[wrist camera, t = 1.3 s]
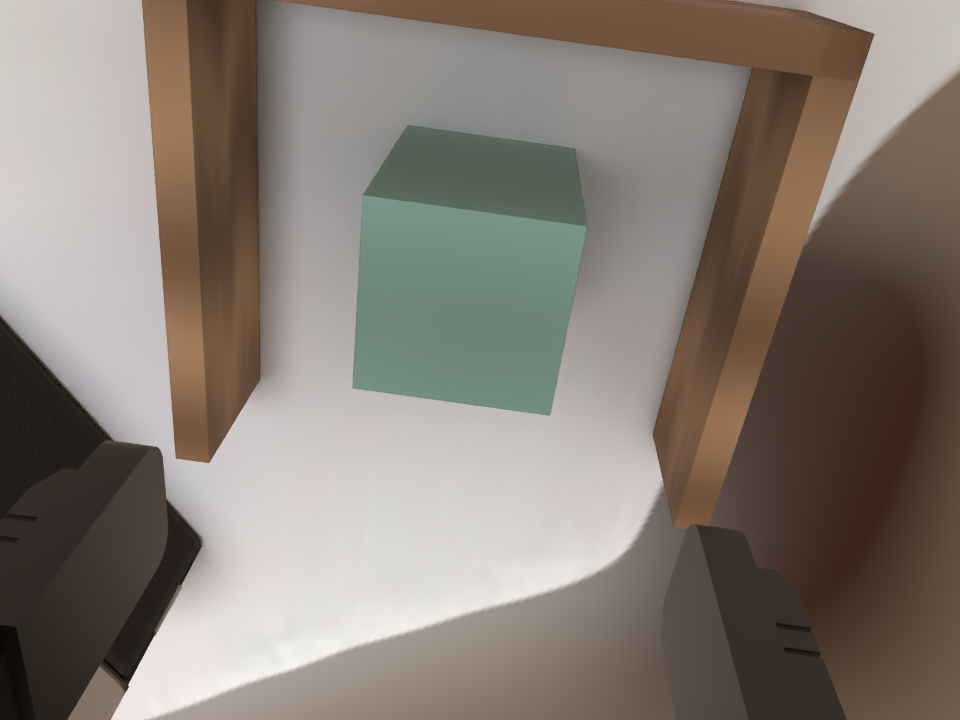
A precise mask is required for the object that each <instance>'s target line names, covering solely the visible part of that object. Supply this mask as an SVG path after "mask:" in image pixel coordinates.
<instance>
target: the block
mask: <svg viewBox="0 0 960 720" xmlns="http://www.w3.org/2000/svg"><path fill="white" fill-rule="evenodd" d="M586 230H587V222H586V216H585V210H584V203H583V197H582V191H581V185H580V179H579V172H578V166H577V160H576V154H575V149H573V148H566V147H559V146H552V145H545V144H538V143H530V142H523V141H516V140H509V139H502V138H495V137H488V136H480V135H473V134H466V133H459V132H452V131H445V130H438V129H430V128H423V127H416V126H409V125H408V126H407V127H406V129H405V130H404V132H403V134H402V135H401V137H400V138H399V140H398V141H397V143H396V145H395V146H394V148H393V149H392V151H391V152H390V154H389V155H388V157H387V159H386V160H385V162H384V163H383V165H382V166H381V168H380V170H379V171H378V173H377V174H376V176H375V177H374V179H373V180H372V182H371V184H370V185H369V187H368V188H367V190H366V191H365V193H364V194H363V204H362V222H361V241H360V259H359V278H358V296H357V315H356V333H355V352H354V370H353V388H355V389H362V390H369V391H376V392H384V393H391V394H398V395H405V396H413V397H420V398H427V399H434V400H441V401H449V402H456V403H463V404H470V405H477V406H485V407H492V408H499V409H506V410H513V411H521V412H528V413H535V414H542V415H550V414H551V408H552V403H553V398H554V393H555V388H556V383H557V378H558V373H559V368H560V363H561V358H562V353H563V347H564V342H565V337H566V332H567V327H568V322H569V317H570V312H571V307H572V302H573V297H574V291H575V286H576V281H577V276H578V271H579V266H580V261H581V256H582V251H583V246H584V241H585V236H586Z"/></svg>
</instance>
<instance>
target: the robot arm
mask: <svg viewBox="0 0 960 720" xmlns="http://www.w3.org/2000/svg"><path fill="white" fill-rule="evenodd" d="M167 536H168V517H167V505H166V492H165V479H164V467H163V457H162V453H161V451H160V449H159V448H157V447H153V446H146V445H139V444H132V443H125V442H118V441H110V440H107V441H104V442H102V443H101V444H100V445H99V446H98V447H97V448H96V450H95V451H94V452H93V453H92V454H91V455H90V457H89V458H88V459H87V460H86V461H85V463H84V464H83V465H82V466H81V467H80V468H79V470H78V471H77V470H70V469H61V470H59V471H58V472H56V473H54V474H53V475H51V476H49V477H47V478H46V479H44V480H42V481H41V482H39V483H37V484H35V485H34V486H32V487H30V488H29V489H28V490H27V491H26V492H25V493H24V494H23V496H22V497H21V498H20V499H19V500H18V501H17V502H16V503H15V504H14V505H13V507H12V508H11V509H10V510H9V511H8V512H7V515H6V518H2V519H1V520H0V720H68V718H69V716H70V715H71V713H72V711H73V710H74V708H75V706H76V705H77V703H78V701H79V700H80V698H81V696H82V695H83V693H84V691H85V690H86V688H87V686H88V685H89V683H90V681H91V679H92V678H93V676H94V674H95V673H96V671H97V669H98V668H99V666H100V664H101V663H102V661H103V659H104V658H105V656H106V654H107V653H108V651H109V649H110V648H111V646H112V644H113V643H114V641H115V639H116V637H117V636H118V634H119V632H120V631H121V629H122V627H123V626H124V624H125V622H126V621H127V619H128V617H129V616H130V614H131V612H132V611H133V609H134V607H135V606H136V604H137V602H138V601H139V599H140V597H141V595H142V594H143V592H144V590H145V589H146V587H147V585H148V584H149V582H150V580H151V579H152V577H153V575H154V574H155V572H156V570H157V568H158V567H159V565H160V562H161V560H162V557H163V554H164V551H165V547H166V543H167ZM661 626H662V627H661V629H662V641H663V647H664V653H665V658H666V665H667V670H668V676H669V682H670V687H671V694H672V699H673V705H674V711H675V717H676V720H847V719H846V717H845V714H844V711H843V709H842V706H841V704H840V701H839V699H838V696H837V693H836V691H835V688H834V686H833V683H832V681H831V678H830V676H829V673H828V670H827V668H826V665H825V663H824V660H823V659H821V658H820V650H819V647H818V645H817V642H816V639H815V637H814V634H812V633H811V632H810V630H811V627H810V624H809V621H808V619H807V616H806V614H805V611H804V609H803V606H802V603H801V601H800V598H799V597H798V596H797V595H796V594H795V592H794V591H793V590H792V589H791V588H790V587H789V586H788V584H787V583H786V582H785V581H784V580H783V578H782V577H781V576H780V575H779V574H778V573H777V572H776V570H771V569H764V568H757V567H756V565H755V562H754V559H753V556H752V553H751V550H750V547H749V544H748V541H747V538H746V536H745V534H744V533H743V532H742V531H740V530H734V529H727V528H719V527H711V526H705V525H698V524H691V525H690V526H689V527H688V529H687V531H686V533H685V536H684V539H683V542H682V546H681V548H680V552H679V555H678V558H677V561H676V564H675V567H674V570H673V574H672V577H671V580H670V583H669V586H668V589H667V592H666V596H665V599H664V604H663V610H662V625H661Z"/></svg>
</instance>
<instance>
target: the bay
mask: <svg viewBox="0 0 960 720" xmlns="http://www.w3.org/2000/svg"><path fill="white" fill-rule="evenodd" d="M277 1H284V2H291V3H298V4H305V5H312V6H320V7H327V8H334V9H341V10H348V11H355V12H362V13H370V14H377V15H384V16H391V17H398V18H405V19H412V20H419V21H427V22H434V23H441V24H448V25H455V26H462V27H469V28H476V29H484V30H491V31H498V32H505V33H512V34H519V35H526V36H533V37H541V38H548V39H555V40H562V41H569V42H576V43H583V44H590V45H598V46H605V47H612V48H619V49H626V50H633V51H640V52H647V53H655V54H662V55H669V56H676V57H683V58H690V59H697V60H704V61H712V62H719V63H726V64H733V65H740V66H747V67H753V70H752V73H751V77H750V81H749V84H748V88H747V92H746V95H745V99H744V102H743V106H742V110H741V113H740V117H739V121H738V124H737V128H736V132H735V135H734V139H733V143H732V146H731V150H730V154H729V157H728V161H727V165H726V168H725V172H724V176H723V179H722V183H721V186H720V190H719V194H718V197H717V201H716V205H715V208H714V212H713V216H712V219H711V223H710V227H709V230H708V234H707V238H706V241H705V245H704V249H703V252H702V256H701V260H700V263H699V267H698V271H697V274H696V278H695V281H694V285H693V289H692V292H691V296H690V300H689V303H688V307H687V311H686V314H685V318H684V322H683V325H682V329H681V333H680V336H679V340H678V344H677V347H676V351H675V355H674V358H673V362H672V365H671V369H670V373H669V376H668V380H667V384H666V387H665V391H664V395H663V398H662V402H661V406H660V409H659V413H658V417H657V420H656V424H655V428H654V431H653V437H654V442H655V446H656V451H657V455H658V460H659V464H660V469H661V473H662V478H663V482H664V487H665V491H666V496H667V500H668V505H669V509H670V513H671V518H672V522H673V527H675V528H683V529H688V527H689V526H690V525H691V524H698V525H705V526H709V524H710V520H711V518H712V515H713V512H714V509H715V506H716V503H717V500H718V497H719V494H720V491H721V488H722V485H723V482H724V479H725V476H726V473H727V470H728V467H729V464H730V461H731V458H732V455H733V452H734V449H735V446H736V443H737V440H738V437H739V434H740V432H741V429H742V426H743V423H744V420H745V417H746V414H747V411H748V408H749V405H750V402H751V399H752V396H753V393H754V390H755V387H756V384H757V381H758V378H759V375H760V372H761V369H762V366H763V363H764V360H765V357H766V354H767V351H768V348H769V345H770V343H771V339H772V337H773V334H774V330H775V328H776V325H777V322H778V319H779V316H780V312H781V310H782V307H783V304H784V301H785V297H786V295H787V292H788V289H789V286H790V283H791V280H792V277H793V274H794V271H795V268H796V265H797V262H798V259H799V256H800V253H801V250H802V248H803V245H804V242H805V239H806V236H807V233H808V230H809V227H810V224H811V221H812V218H813V215H814V212H815V209H816V206H817V203H818V200H819V197H820V194H821V191H822V188H823V185H824V182H825V179H826V176H827V173H828V170H829V167H830V164H831V161H832V158H833V156H834V153H835V150H836V147H837V144H838V141H839V138H840V135H841V132H842V129H843V126H844V123H845V120H846V117H847V114H848V111H849V108H850V105H851V102H852V99H853V96H854V93H855V90H856V87H857V84H858V81H859V78H860V75H861V72H862V69H863V66H864V63H865V61H866V58H867V55H868V52H869V49H870V46H871V43H872V40H873V37H874V34H873V33H870V32H867V31H864V30H861V29H858V28H855V27H852V26H849V25H846V24H843V23H840V22H837V21H834V20H831V19H828V18H825V17H822V16H819V15H816V14H813V13H810V12H807V11H800V10H793V9H786V8H779V7H771V6H764V5H757V4H750V3H743V2H736V1H729V0H277ZM142 6H143V20H144V34H145V47H146V61H147V74H148V88H149V101H150V115H151V128H152V142H153V155H154V169H155V183H156V196H157V210H158V223H159V237H160V250H161V264H162V277H163V291H164V304H165V318H166V331H167V345H168V359H169V372H170V386H171V399H172V413H173V426H174V440H175V453H176V458H177V459H184V460H191V461H198V462H205V463H209V462H210V461H211V459H212V457H213V456H214V454H215V453H216V451H217V449H218V448H219V446H220V444H221V443H222V441H223V439H224V438H225V436H226V434H227V433H228V431H229V430H230V428H231V426H232V425H233V423H234V421H235V420H236V418H237V416H238V415H239V413H240V411H241V410H242V408H243V407H244V405H245V403H246V402H247V400H248V398H249V397H250V395H251V393H252V392H253V390H254V388H255V387H256V385H257V384H258V382H259V380H260V337H259V246H258V156H257V65H256V0H142Z"/></svg>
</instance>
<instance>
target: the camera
mask: <svg viewBox="0 0 960 720" xmlns="http://www.w3.org/2000/svg"><path fill="white" fill-rule="evenodd" d="M107 440H108V439H107V438H106V437H105V436H104V435H103V434H102V433H101V431H100V430H99V429H98V428H97V427H96V426H95V425H94V424H93V423H92V422H91V421H90V419H89V418H88V417H87V416H86V415H85V414H84V413H83V412H82V411H81V410H80V408H79V407H78V406H77V405H76V404H75V403H74V402H73V401H72V400H71V399H70V398H69V396H68V395H67V394H66V393H65V392H64V391H63V390H62V389H61V388H60V387H59V386H58V384H57V383H56V382H55V381H54V380H53V379H52V378H51V377H50V376H49V375H48V373H47V372H46V371H45V370H44V369H43V368H42V367H41V366H40V365H39V364H38V363H37V361H36V360H35V359H34V358H33V357H32V356H31V355H30V354H29V353H28V352H27V350H26V349H25V348H24V347H23V346H22V345H21V344H20V343H19V342H18V341H17V340H16V338H15V337H14V336H13V335H12V334H11V333H10V332H9V331H8V330H7V329H6V328H5V326H4V325H3V324H2V323H1V322H0V520H1V519H2V518H6V515H7V512H8V511H9V510H10V509H11V508H12V507H13V505H14V504H15V503H16V502H17V501H18V500H19V499H20V498H21V497H22V496H23V494H24V493H25V492H26V491H27V490H28V489H29V488H30V487H32V486H34V485H35V484H37V483H39V482H41V481H42V480H44V479H46V478H47V477H49V476H51V475H53V474H54V473H56V472H58V471H59V470H61V469H70V470H77V471H78V470H79V468H80V467H81V466H82V465H83V464H84V463H85V461H86V460H87V459H88V458H89V457H90V455H91V454H92V453H93V452H94V451H95V450H96V448H97V447H98V446H99V445H100V444H101V443H102V442H104V441H107ZM166 505H167V504H166ZM167 517H168V536H167V543H166V547H165V551H164V554H163V557H162V560H161V562H160V565H159V567H158V568H157V570H156V572H155V574H154V575H153V577H152V579H151V580H150V582H149V584H148V585H147V587H146V589H145V590H144V592H143V594H142V595H141V597H140V599H139V601H138V602H137V604H136V606H135V607H134V609H133V611H132V612H131V614H130V616H129V617H128V619H127V621H126V622H125V624H124V626H123V627H122V629H121V631H120V632H119V634H118V636H117V637H116V639H115V641H114V643H113V644H112V646H111V648H110V649H109V651H108V653H107V654H106V656H105V658H104V659H103V661H102V663H101V664H100V666H99V668H98V669H97V671H96V673H95V674H94V676H93V678H92V679H91V681H90V683H89V685H88V686H87V688H86V690H85V691H84V693H83V695H82V696H81V698H80V700H79V701H78V703H77V705H76V706H75V708H74V710H73V711H72V713H71V715H70V716H69V718H68V720H111V718H112V716H113V714H114V712H115V711H116V709H117V707H118V705H119V703H120V701H121V699H122V698H123V696H124V694H125V692H126V691H127V689H128V687H129V686H128V684H129V682H130V680H131V678H132V676H133V675H134V673H135V671H136V669H137V667H138V665H139V663H140V661H141V660H142V658H143V656H144V654H145V652H146V650H147V648H148V646H149V645H150V643H151V641H152V639H153V637H154V636H155V635H156V633H157V632H158V630H159V628H160V626H161V624H162V623H163V621H164V619H165V617H166V615H167V613H168V612H169V610H170V608H171V606H172V604H173V603H174V601H175V599H176V597H177V595H178V593H179V592H180V590H181V588H182V586H181V585H182V583H183V581H184V579H185V577H186V575H187V573H188V572H189V570H190V568H191V566H192V564H193V562H194V560H195V558H196V556H197V555H198V553H199V551H200V549H201V547H202V545H201V544H200V541H199V540H198V538H197V537H196V536H195V534H194V533H193V532H192V531H191V530H190V529H189V528H188V527H187V526H186V525H185V523H184V522H183V521H182V520H181V519H180V518H179V517H178V516H177V515H176V514H175V512H174V511H173V510H172V509H171V508H170V507H169V506H168V505H167Z"/></svg>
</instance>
